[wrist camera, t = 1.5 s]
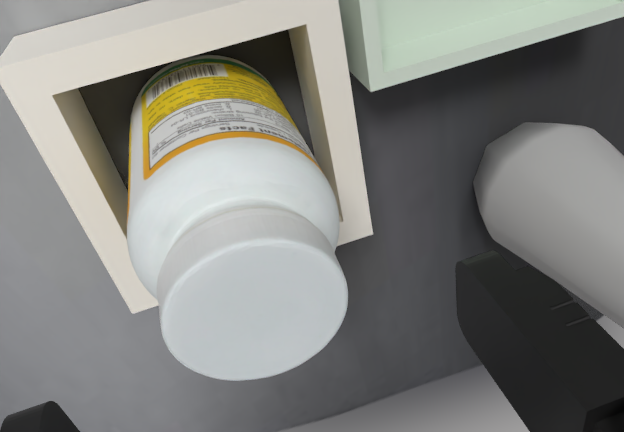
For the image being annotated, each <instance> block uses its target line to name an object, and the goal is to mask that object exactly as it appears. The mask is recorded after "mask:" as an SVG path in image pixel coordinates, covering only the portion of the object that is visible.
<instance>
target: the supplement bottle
mask: <svg viewBox="0 0 624 432" xmlns="http://www.w3.org/2000/svg"><path fill="white" fill-rule="evenodd" d="M339 229H340V221H339V210H338V205H337V202H336V198H335V195H334V193H333V190H332V188H331V186H330V184H329V182H328V180H327V178H326V177H325V175H324V173H323V172H322V170H321V168H320V166H319V165H318V163H317V161H316V160H315V158H314V156H313V155H312V153H311V151H310V149H309V148H308V146H307V144H306V142H305V141H304V139H303V137H302V136H301V134H300V132H299V130H298V129H297V127H296V125H295V123H294V122H293V120H292V118H291V117H290V115H289V113H288V111H287V110H286V108H285V106H284V104H283V103H282V101H281V99H280V97H279V95H278V94H277V93H276V91H275V90H274V88H273V87H272V85H271V84H270V83H269V81H268V80H267V79H266V78H265V77H264V76H263V75H262V74H260V73H259V72H258V71H256V70H255V69H254V68H252V67H250V66H249V65H247V64H245V63H242V62H240V61H238V60H236V59H232V58H229V57H225V56H218V55H199V56H192V57H188V58H184V59H181V60H178V61H176V62H173V63H171V64H169V65H167V66H166V67H164V68H162V69H161V70H160V71H158V72H157V73H155V74H154V75H153V76H152V77H151V78H150V79H149V81H148V82H147V83H146V84H145V85H144V87H143V88H142V89H141V91H140V93H139V94H138V96H137V98H136V101H135V103H134V106H133V109H132V113H131V119H130V129H129V180H128V209H127V245H128V252H129V256H130V260H131V263H132V266H133V268H134V270H135V272H136V275H137V276H138V278H139V280H140V281H141V283H142V284H143V286H144V287H145V288H146V289H147V291H148V292H149V293H150V294H151V295H152V296H153V297H154V298H156V299H157V300H158V304H159V314H160V325H161V331H162V336H163V339H164V341H165V343H166V345H167V347H168V349H169V351H170V352H171V353H172V354H173V356H174V357H175V358H176V359H177V360H178V361H179V362H181V363H182V364H183V365H184V366H186V367H187V368H189V369H191V370H193V371H194V372H197V373H200V374H202V375H204V376H208V377H212V378H215V379H222V380H232V381H242V380H254V379H260V378H266V377H271V376H274V375H277V374H280V373H283V372H286V371H288V370H290V369H292V368H294V367H296V366H299V365H300V364H302V363H304V362H306V361H307V360H309V359H310V358H311V357H313V356H314V355H315V354H317V353H318V352H319V351H320V350H322V349H323V348H324V347H325V346H326V345H327V344H328V343H329V341H330V340H331V339H332V338H333V337H334V335H335V334H336V333H337V331H338V329H339V328H340V326H341V324H342V322H343V319H344V317H345V314H346V311H347V306H348V288H347V283H346V279H345V276H344V274H343V271H342V269H341V266H340V264H339V262H338V260H337V258H336V256H335V250H336V247H337V243H338V238H339Z"/></svg>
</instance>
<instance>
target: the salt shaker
mask: <svg viewBox="0 0 624 432" xmlns="http://www.w3.org/2000/svg"><path fill="white" fill-rule="evenodd" d="M473 185H474V190H475V194H476V198H477V203H478V207H479V211H480V214H481V216H482V219H483V221H484V223H485V226H486V228H487V230H488V232H489V234H490V235H491V237H492V239H493V240H495V241H496V242H498V243H499V244H501V245H502V246H504V247H505V248H507V249H508V250H510V251H511V252H513V253H514V254H516V255H517V256H519V257H520V258H522V259H523V260H525V261H526V262H528V263H529V264H531V265H532V266H534V267H535V268H537V269H538V270H540V271H541V272H543V273H544V274H546V275H547V276H549V277H550V278H552V279H554V280H555V281H556V282H558V283H559V284H561V285H562V286H564V287H565V288H566V289H568V290H569V291H571V292H572V293H574V294H575V295H577V296H578V297H579V298H581V299H582V300H584V301H585V302H587V303H588V304H589V305H591V306H592V307H594V308H595V309H597V310H598V311H599V312H601V313H602V314H604V315H605V316H607V317H608V318H610V319H611V320H612V321H614V322H615V323H617V324H618V325H620V326H621V327H622V328H624V156H623V155H622V154H621V153H620V152H619V151H618V150H617V149H616V148H615V147H614V146H613V145H612V144H611V143H609V142H608V141H607V140H606V139H605V138H603V137H602V136H601V135H600V134H599V133H597V132H596V131H595V130H594V129H591V128H588V127H585V126H581V125H570V124H559V123H532V122H524V123H522V124H521V125H519V126H517V127H516V128H514V129H512V130H511V131H509V132H508V133H506V134H504V135H503V136H501V137H499V138H498V139H496V140H494V141H493V142H491V143H490V144H488V145H487V146H486V149H485V151H484V154H483V157H482V159H481V162H480V165H479V167H478V170H477V173H476V175H475V178H474V181H473Z"/></svg>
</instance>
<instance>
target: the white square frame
mask: <svg viewBox="0 0 624 432" xmlns="http://www.w3.org/2000/svg"><path fill="white" fill-rule="evenodd" d="M287 29H288V32H289V36H290V41H291V46H292V51H293V55H294V60H295V65H296V70H297V74H298V79H299V84H300V88H301V93H302V98H303V103H304V107H305V112H306V117H307V122H308V126H309V131H310V136H311V141H312V145H313V150H314V155H315V160H316V161H317V163H318V165H319V166H320V168H321V170H322V172H323V173H324V175H325V177H326V178H327V180H328V182H329V184H330V186H331V188H332V190H333V193H334V195H335V198H336V202H337V205H338V210H339V221H340V229H339V238H338V243H337V246H339V245H342V244H345V243H348V242H351V241H354V240H357V239H360V238H363V237H366V236H369V235H372V234H373V230H372V224H371V217H370V210H369V204H368V197H367V190H366V183H365V177H364V170H363V163H362V156H361V150H360V143H359V136H358V130H357V123H356V116H355V109H354V103H353V96H352V89H351V82H350V76H349V69H348V62H347V55H346V49H345V42H344V35H343V29H342V22H341V15H340V8H339V2H338V0H150V1H146V2H142V3H138V4H135V5H131V6H127V7H123V8H119V9H116V10H112V11H108V12H104V13H101V14H97V15H93V16H89V17H85V18H82V19H78V20H74V21H70V22H67V23H63V24H59V25H55V26H51V27H48V28H44V29H40V30H36V31H33V32H29V33H25V34H21V35H17V36H14V37H13V39H12V40H11V42H10V43H9V45H8V46H7V48H6V49H5V51H4V52H3V54H2V55H1V57H0V84H1V86H2V88H3V89H4V91H5V93H6V95H7V96H8V98H9V100H10V102H11V103H12V105H13V107H14V109H15V110H16V112H17V114H18V116H19V117H20V119H21V121H22V122H23V124H24V126H25V128H26V129H27V131H28V133H29V135H30V136H31V138H32V140H33V142H34V143H35V145H36V147H37V149H38V150H39V152H40V154H41V156H42V157H43V159H44V161H45V163H46V164H47V166H48V168H49V169H50V171H51V173H52V175H53V176H54V178H55V180H56V182H57V183H58V185H59V187H60V189H61V190H62V192H63V194H64V196H65V197H66V199H67V201H68V203H69V204H70V206H71V208H72V209H73V211H74V213H75V215H76V216H77V218H78V220H79V222H80V223H81V225H82V227H83V229H84V230H85V232H86V234H87V236H88V237H89V239H90V241H91V243H92V244H93V246H94V248H95V250H96V251H97V253H98V255H99V256H100V258H101V260H102V262H103V263H104V265H105V267H106V269H107V270H108V272H109V274H110V276H111V277H112V279H113V281H114V283H115V284H116V286H117V288H118V290H119V291H120V293H121V295H122V297H123V298H124V300H125V302H126V303H127V305H128V307H129V309H130V310H131V312H132V314H134V313H137V312H140V311H143V310H146V309H149V308H152V307H155V306H158V305H159V304H158V300H157V299H156V298H154V297H153V296H152V295H151V294H150V293H149V292H148V291H147V289H146V288H145V287H144V286H143V284H142V283H141V281H140V280H139V278H138V276H137V275H136V272H135V270H134V268H133V266H132V263H131V260H130V256H129V252H128V245H127V209H128V191H127V189H126V187H125V185H124V183H123V181H122V179H121V177H120V175H119V173H118V171H117V168H116V166H115V164H114V162H113V160H112V158H111V156H110V154H109V152H108V150H107V148H106V146H105V144H104V142H103V140H102V137H101V135H100V133H99V131H98V129H97V127H96V125H95V123H94V121H93V119H92V117H91V115H90V113H89V111H88V108H87V106H86V104H85V102H84V100H83V98H82V96H81V94H80V92H79V90H78V88H79V87H83V86H87V85H90V84H94V83H97V82H101V81H105V80H108V79H112V78H115V77H119V76H122V75H126V74H130V73H133V72H137V71H140V70H144V69H147V68H151V67H155V66H158V65H162V64H165V63H169V62H173V61H176V60H180V59H183V58H187V57H190V56H194V55H198V54H201V53H205V52H208V51H212V50H215V49H219V48H223V47H226V46H230V45H233V44H237V43H241V42H244V41H248V40H251V39H255V38H258V37H262V36H266V35H269V34H273V33H276V32H280V31H283V30H287Z"/></svg>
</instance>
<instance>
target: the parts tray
mask: <svg viewBox="0 0 624 432" xmlns="http://www.w3.org/2000/svg"><path fill="white" fill-rule="evenodd" d="M338 2H339V8H340V15H341V22H342V29H343V35H344V42H345V49H346V55H347V62H348V69H349V71H350V72H351V73H352V74H353V75H354V76H355V77H356V78H357V79H358V80H359V81H360V82H361V83H362V84H363V85H364V86H365V87H366V88H367V89H368V90H369V91H370V92H373V91H376V90H379V89H383V88H386V87H389V86H393V85H396V84H399V83H403V82H406V81H410V80H413V79H416V78H420V77H423V76H426V75H430V74H433V73H436V72H440V71H443V70H446V69H450V68H453V67H456V66H460V65H463V64H466V63H470V62H473V61H476V60H480V59H483V58H486V57H490V56H493V55H496V54H500V53H503V52H507V51H510V50H513V49H517V48H520V47H523V46H527V45H530V44H533V43H537V42H540V41H543V40H547V39H550V38H553V37H557V36H560V35H563V34H567V33H570V32H573V31H577V30H580V29H583V28H587V27H590V26H594V25H597V24H600V23H604V22H607V21H610V20H614V19H617V18H620V17H624V0H338Z"/></svg>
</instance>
